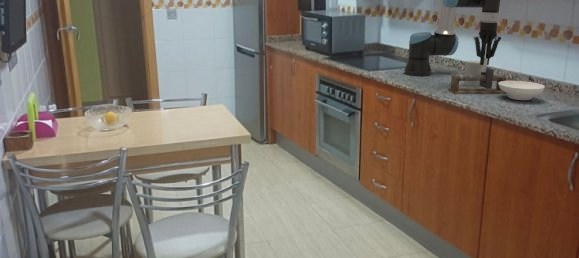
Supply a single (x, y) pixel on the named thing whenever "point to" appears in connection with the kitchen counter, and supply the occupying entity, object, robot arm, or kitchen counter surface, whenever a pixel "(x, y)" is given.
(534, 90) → the bowl
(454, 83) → the pipe stand
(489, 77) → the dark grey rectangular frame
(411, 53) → the robot arm
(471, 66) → the light grey cylinder
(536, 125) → the kitchen counter surface
